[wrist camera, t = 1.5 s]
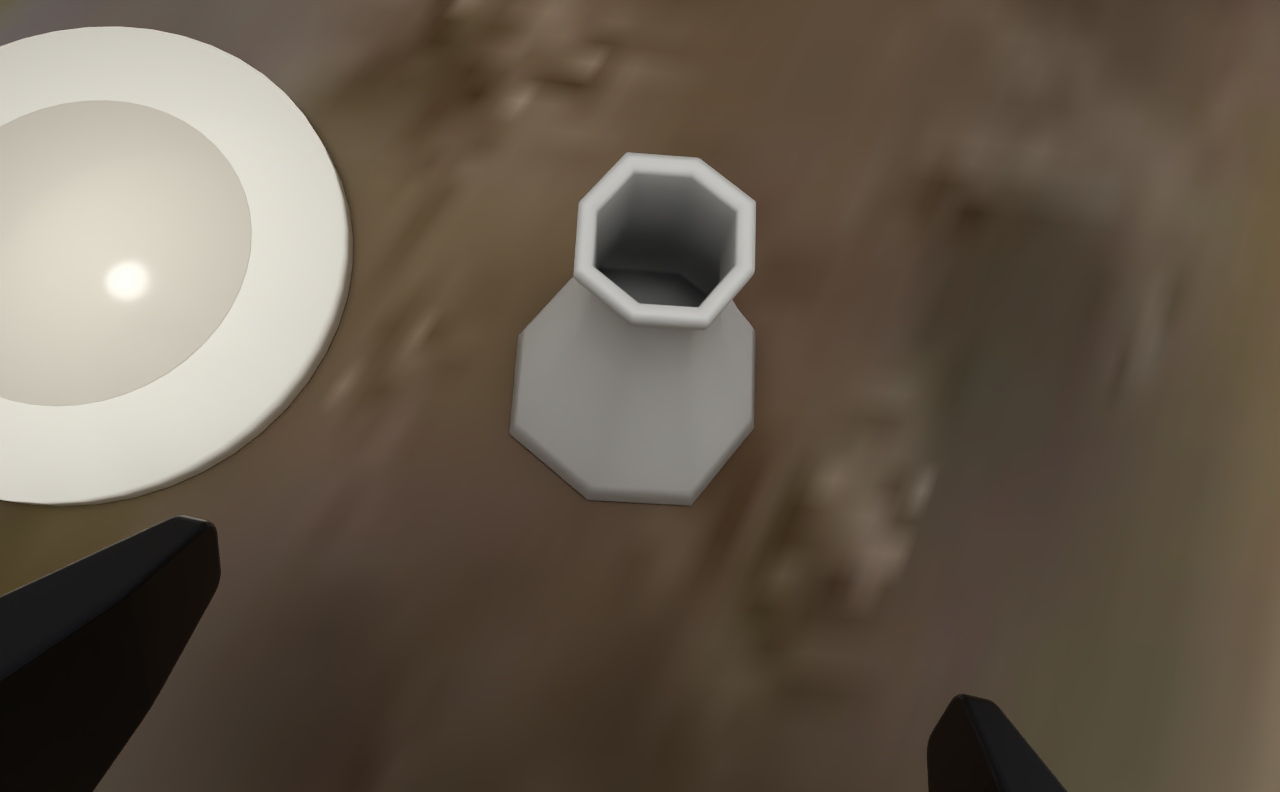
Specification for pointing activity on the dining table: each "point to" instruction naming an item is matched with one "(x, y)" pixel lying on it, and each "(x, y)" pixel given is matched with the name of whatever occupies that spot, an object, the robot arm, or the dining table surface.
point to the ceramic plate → (154, 261)
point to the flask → (645, 338)
